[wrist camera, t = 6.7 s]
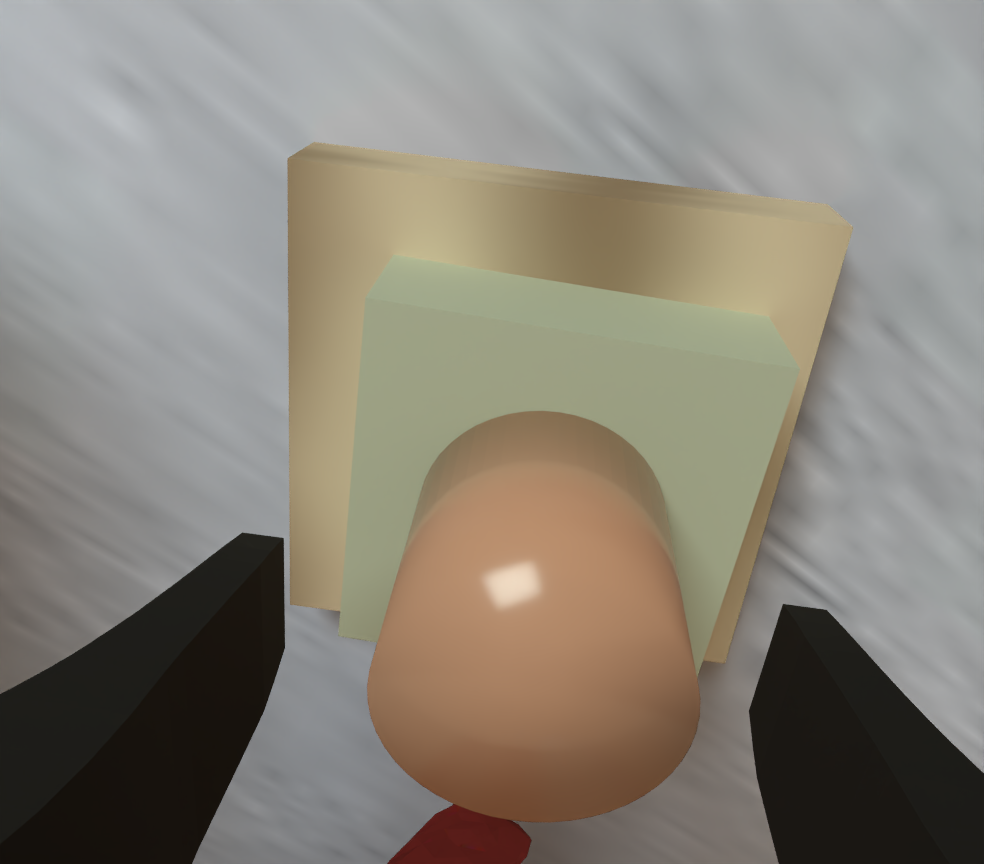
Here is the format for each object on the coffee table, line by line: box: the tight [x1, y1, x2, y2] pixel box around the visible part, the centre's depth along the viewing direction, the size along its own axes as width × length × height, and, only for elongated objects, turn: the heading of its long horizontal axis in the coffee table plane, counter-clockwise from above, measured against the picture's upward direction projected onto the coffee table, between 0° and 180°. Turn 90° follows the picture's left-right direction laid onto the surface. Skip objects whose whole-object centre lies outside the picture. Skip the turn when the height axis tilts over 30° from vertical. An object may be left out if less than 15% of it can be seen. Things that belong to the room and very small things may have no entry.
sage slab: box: [338, 255, 800, 677], centre depth 17 cm, size 7×7×2 cm
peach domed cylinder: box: [367, 411, 700, 822], centre depth 14 cm, size 4×4×4 cm
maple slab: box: [288, 142, 853, 663], centre depth 19 cm, size 10×10×2 cm
